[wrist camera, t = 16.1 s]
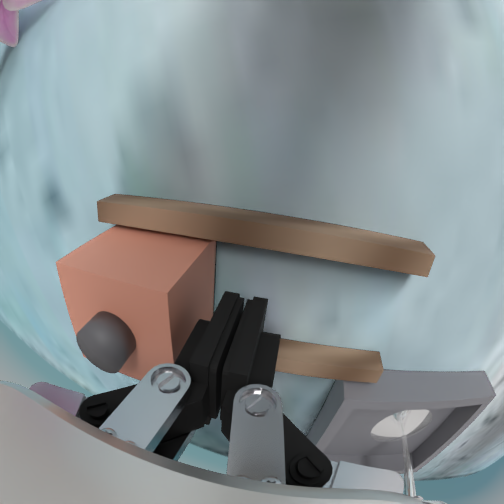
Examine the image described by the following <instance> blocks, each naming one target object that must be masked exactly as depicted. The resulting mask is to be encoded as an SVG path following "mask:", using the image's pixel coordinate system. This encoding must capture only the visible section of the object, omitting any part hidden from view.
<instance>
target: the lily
mask: <svg viewBox="0 0 504 504" xmlns="http://www.w3.org/2000/svg"><path fill="white" fill-rule="evenodd" d="M39 1H42V0H0V42H2V43H4V44H6V45H8V46H11V47H16V45H17V44H18V33H19V10H20V9H23V8H26V7H28V6H30V5H33V4H35V3H37V2H39Z"/></svg>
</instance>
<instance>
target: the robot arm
mask: <svg viewBox="0 0 504 504" xmlns="http://www.w3.org/2000/svg"><path fill="white" fill-rule="evenodd" d="M267 302H268V299H265V298H259V297H254V298H253V300H250V299H248V300H247V303H246V306H245V308H244V311H243V306H244V298H240V295H239V294H238V293H232V292H227V291H225V293H224V295H223V297H222V299H221V301H220V303H219V305H218V307H217V309H216V310H215V312H214V314H213V316H212V318H211V320H210V321H207V320H203V319H199V320H198V322H197V323H196V325H195V327H194V329H193V330H192V332H191V334H190V336H189V338H188V339H187V341H186V343H185V345H184V346H183V348H182V350H181V352H180V354H179V355H178V357H177V359H176V361H175V363H174V364H171V363H165V364H159V365H157V366H155V367H153V368H152V369H151V370H150V371H149V372H148V373H147V374H146V375H145V376H144V377H143V379H142V380H141V381H140V382H139V383H138V384H136V385H132V386H128V387H125V388H121V389H117V390H113V391H109V392H105V393H101V394H97V395H93V396H90V397H86V396H85V395H84V394H83V393H79V392H75V391H72V390H68V389H65V388H61V387H58V386H55V385H52V384H49V383H46V382H38V383H35V384H34V385H32V386H31V387H30V388H29V389H28V388H26V387H24V386H21V385H19V384H15V383H12V382H8V381H1V380H0V504H425V503H423V502H422V501H420V500H418V499H416V498H413V497H411V496H408V495H404V494H403V490H404V481H403V479H402V477H401V476H400V475H399V474H398V473H397V472H394V471H391V470H386V469H380V468H374V467H368V466H363V465H358V464H353V463H349V462H344V461H340V462H339V463H338V462H334V461H330V460H329V459H328V457H327V456H326V455H325V454H324V453H323V452H321V451H320V450H319V449H318V448H317V447H316V446H315V445H314V444H313V443H312V442H311V441H310V440H309V439H308V438H307V437H306V436H305V435H304V434H303V433H302V432H301V431H300V430H299V429H298V428H297V427H296V426H295V425H294V424H293V423H292V422H291V421H290V420H289V419H288V418H287V417H286V416H285V415H284V414H283V407H282V400H281V397H280V396H279V394H278V393H277V392H276V391H275V390H274V389H272V386H273V380H274V374H275V368H276V362H277V356H278V350H279V344H280V338H281V335H278V334H272V333H267V332H263V327H264V321H265V314H266V308H267ZM220 407H221V411H220V420H222V427H221V431H222V433H223V434H224V435H225V437H226V438H227V439H228V441H229V442H230V443H229V454H228V464H227V475H225V474H221V473H217V472H213V471H209V470H205V469H201V468H198V467H194V466H190V465H187V464H184V463H181V462H178V459H179V458H180V456H181V455H182V453H183V451H184V450H185V448H186V447H187V445H188V444H189V442H190V440H191V439H192V437H193V435H194V433H195V431H196V429H199V428H201V427H204V424H207V425H209V423H210V420H211V418H214V419H216V418H217V416H218V413H219V410H220Z"/></svg>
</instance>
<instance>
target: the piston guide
mask: <svg viewBox="0 0 504 504" xmlns="http://www.w3.org/2000/svg"><path fill="white" fill-rule="evenodd" d="M97 208H98V221H99V222H105V223H111V224H117V225H124V226H130V227H136V228H142V229H148V230H154V231H161V232H167V233H173V234H179V235H185V236H191V237H197V238H203V239H209V240H215V241H221V242H227V243H233V244H239V245H245V246H251V247H257V248H263V249H269V250H274V251H280V252H286V253H292V254H298V255H304V256H310V257H315V258H321V259H327V260H333V261H339V262H344V263H350V264H356V265H362V266H367V267H373V268H379V269H384V270H390V271H396V272H402V273H407V274H413V275H418V276H424V277H428V275H429V272H430V269H431V266H432V264H433V261H434V258H435V255H434V254H433V253H432V251H431V250H430V249H429V248H428V247H427V246H426V245H425V244H424V243H423V242H420V241H416V240H411V239H406V238H402V237H397V236H392V235H387V234H382V233H377V232H372V231H367V230H362V229H357V228H352V227H347V226H341V225H336V224H330V223H325V222H319V221H313V220H308V219H302V218H296V217H290V216H284V215H277V214H271V213H265V212H258V211H251V210H245V209H238V208H231V207H224V206H216V205H209V204H201V203H193V202H185V201H177V200H169V199H160V198H151V197H141V196H132V195H122V194H114V195H111V196H109V197H106V198H104V199H101V200H99V201H97ZM275 371H279V372H285V373H291V374H297V375H304V376H311V377H319V378H327V379H336V380H346V381H356V382H369V383H377V381H378V380H379V378H380V376H381V374H382V373H383V371H384V370H383V366H382V361H381V357H380V352H376V351H366V350H357V349H349V348H341V347H333V346H326V345H319V344H312V343H305V342H299V341H293V340H287V339H281V338H280V344H279V350H278V356H277V362H276V368H275Z"/></svg>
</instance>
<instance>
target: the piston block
mask: <svg viewBox="0 0 504 504" xmlns="http://www.w3.org/2000/svg"><path fill="white" fill-rule="evenodd" d="M215 255H216V241H215V240H209V239H203V238H197V237H191V236H185V235H179V234H173V233H167V232H161V231H154V230H148V229H142V228H136V227H130V226H124V225H116V226H114V227H112V228H110V229H109V230H107V231H105V232H103V233H102V234H100V235H98V236H97V237H95V238H93V239H92V240H90V241H88V242H87V243H85V244H83V245H82V246H80V247H79V248H77V249H75V250H74V251H72V252H71V253H69V254H68V255H66V256H64V257H63V258H61V259H60V260H58V261H57V262H56V265H57V270H58V274H59V278H60V283H61V287H62V291H63V294H64V298H65V302H66V305H67V309H68V312H69V315H70V319H71V322H72V325H73V328H74V331H75V334H76V338H77V343H78V346H79V348H80V349H81V351H82V353H83V356H84V357H86V358H87V359H88V360H89V361H90V362H91V363H93V364H94V365H95V366H96V367H98V368H100V369H101V370H103V371H106V372H109V373H117V372H120V373H122V374H125V375H127V376H130V377H132V378H135V379H138V380H140V381H141V380H142V379H143V377H144V376H145V375H146V374H147V373H148V372H149V371H150V370H151V369H152V368H153V367H155V366H157V365H159V364H165V363H171V364H174V363H175V361H176V359H177V357H178V355H179V354H180V352H181V350H182V348H183V346H184V345H185V343H186V341H187V339H188V338H189V336H190V334H191V332H192V330H193V329H194V327H195V325H196V323H197V322H198V320H199V319H203V320H207V321H210V320H211V318H212V316H213V303H214V277H215Z"/></svg>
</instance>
